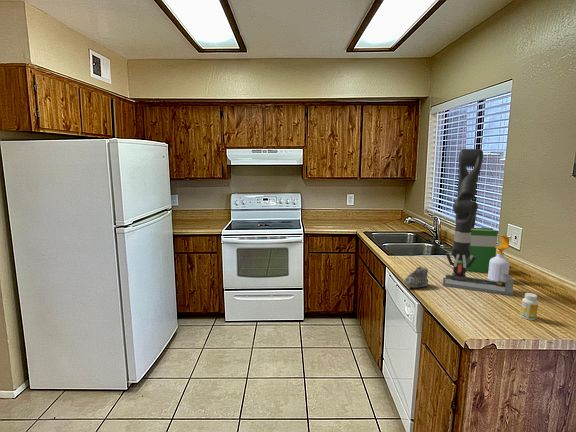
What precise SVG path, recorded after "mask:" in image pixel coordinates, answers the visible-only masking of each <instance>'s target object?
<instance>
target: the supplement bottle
mask: <svg viewBox="0 0 576 432" xmlns="http://www.w3.org/2000/svg"><path fill="white" fill-rule="evenodd" d="M537 299H538V295H537V294H535V293H531V292H526V293H524V298H522V300H521V306H520V312H519V315H520V317H521V318H522V319H525V320H529V321H534V320H536V319H537V316H538V309H539V301H538V300H537Z"/></svg>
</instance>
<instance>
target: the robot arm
mask: <svg viewBox="0 0 576 432" xmlns="http://www.w3.org/2000/svg"><path fill="white" fill-rule="evenodd" d="M458 154H459V155H458V156H459V157H458V182H457V183H458V184H457V197H456V200H455V201H454V203H453V205H452V210H453V212H454V213H455V228H454V236H453V245H452V250H451V251H450V252H446V254H445V255H446V258H447V260H448V263H449V266H450V265H451V266H452V267H453V268H452V269H453V271H452V273H455V274H456V270H457V266H456V265H457V262H458V261H459V260H461V261H463V272H462V275H464V274H466V273H467V271H466V268H467V267H470V266H471V265H472V263H473V262H474V260H475V259H476V257H475V256H473V255H471V254H470V244H471V228H475V224H476V219H477V212H478V207H479V205H478V203H477V201H475V200H473V199H474V198H475V196H476V194H477V193H476V192H477V183H478V180H479V176H480V172H481V168H482V165H483V160H484V152H483V150H482V149H479V148H464V149H461V150H460V152H459V153H458ZM467 167H470V168H471V167H472V170H471V171H470V172H469V171H468V169H467ZM452 257H453V258H454V261H453V260H452ZM469 257H470V259H471V260H470V261H469V263H468V264H466V259H468V258H469Z"/></svg>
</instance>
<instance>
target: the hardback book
mask: <svg viewBox="0 0 576 432" xmlns="http://www.w3.org/2000/svg"><path fill="white" fill-rule="evenodd" d="M497 234H499V230H494V228H492V227H491V228H490V227H474V228H471V244H470V254H471V255H473V256H475V257H476V259H475V260H474V262H473V263H472V265H471V266H470V267H467V268H466V272H467V271H469V272H470V273H471V272H472V273H473V272H474V273H488V271H489V262H490V259H491V258H493V257H496V256H497V248H495V247H496V246H498V236H499V235H497ZM470 260H471V259H470V257H469V258H468V259H466V264H468V263H469V261H470ZM457 263H463V261H461V260H459V261H458V262H457ZM456 266H457V265H456Z"/></svg>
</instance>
